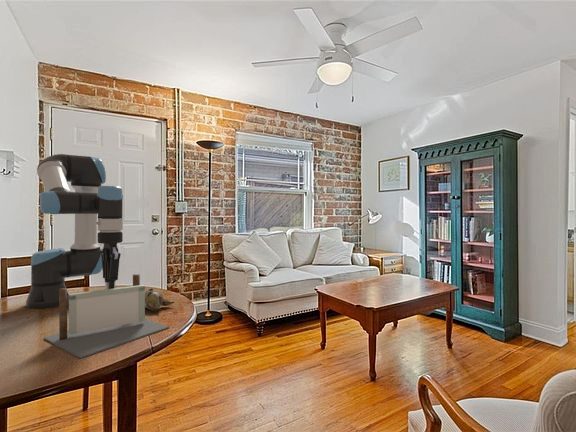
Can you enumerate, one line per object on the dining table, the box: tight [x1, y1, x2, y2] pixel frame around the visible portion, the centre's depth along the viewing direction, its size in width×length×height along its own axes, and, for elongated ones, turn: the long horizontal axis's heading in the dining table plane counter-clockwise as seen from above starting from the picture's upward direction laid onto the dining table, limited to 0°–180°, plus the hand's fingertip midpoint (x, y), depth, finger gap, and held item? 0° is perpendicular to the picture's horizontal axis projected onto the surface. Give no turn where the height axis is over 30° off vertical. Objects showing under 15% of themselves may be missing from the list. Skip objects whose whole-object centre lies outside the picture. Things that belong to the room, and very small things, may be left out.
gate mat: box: [43, 318, 170, 359], centre depth 106 cm, size 24×28×1 cm
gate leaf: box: [68, 284, 146, 335], centre depth 108 cm, size 22×2×12 cm, turn 126°
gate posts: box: [58, 273, 141, 340], centre depth 112 cm, size 2×28×16 cm, turn 152°
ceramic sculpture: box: [145, 288, 175, 312], centre depth 133 cm, size 11×9×15 cm
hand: (110, 300), depth 111 cm, fingers closed
